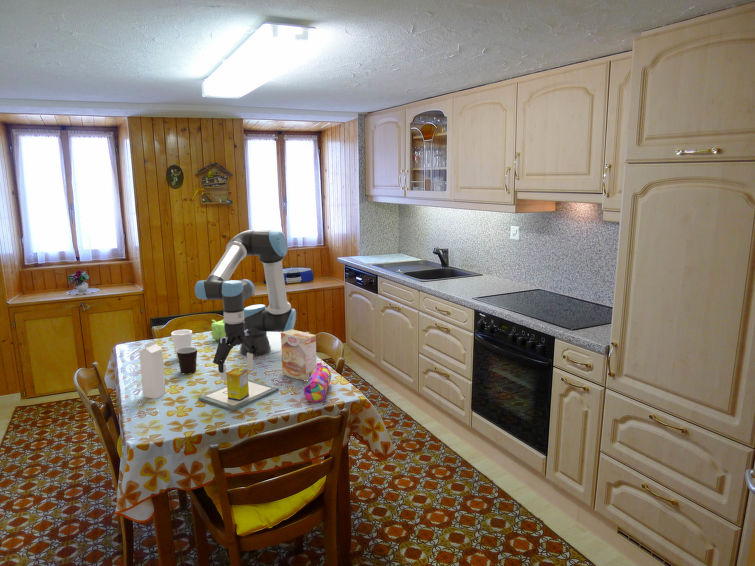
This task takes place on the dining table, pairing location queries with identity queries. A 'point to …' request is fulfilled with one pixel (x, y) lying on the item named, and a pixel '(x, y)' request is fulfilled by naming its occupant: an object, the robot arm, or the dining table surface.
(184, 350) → the coffee mug
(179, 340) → the foam cup
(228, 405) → the paper pad
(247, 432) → the dining table surface
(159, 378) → the milk
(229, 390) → the supplement box
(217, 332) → the green lumpy block
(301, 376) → the coffeecake box
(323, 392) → the pencil case
